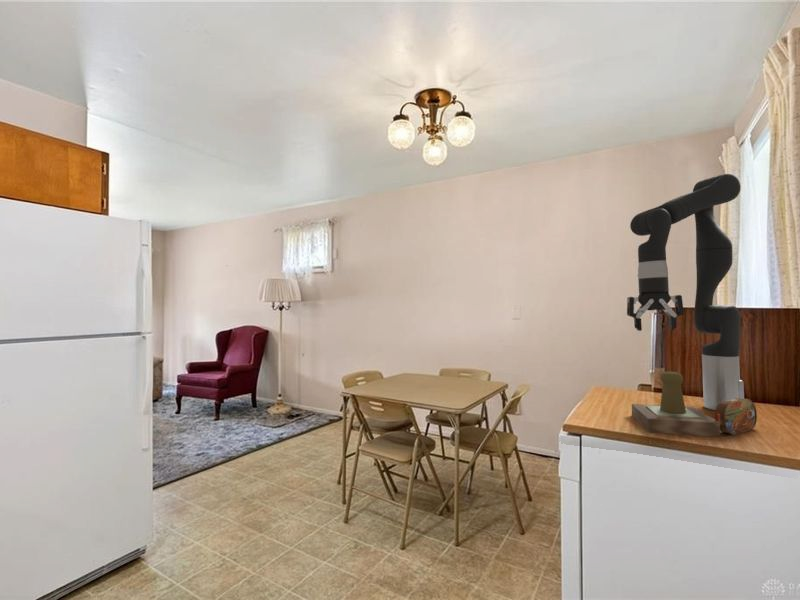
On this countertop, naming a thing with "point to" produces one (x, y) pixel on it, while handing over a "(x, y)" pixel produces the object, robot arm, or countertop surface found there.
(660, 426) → the stand
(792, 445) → the countertop surface
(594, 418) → the countertop surface
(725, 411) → the tin
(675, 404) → the olive pepper mill
